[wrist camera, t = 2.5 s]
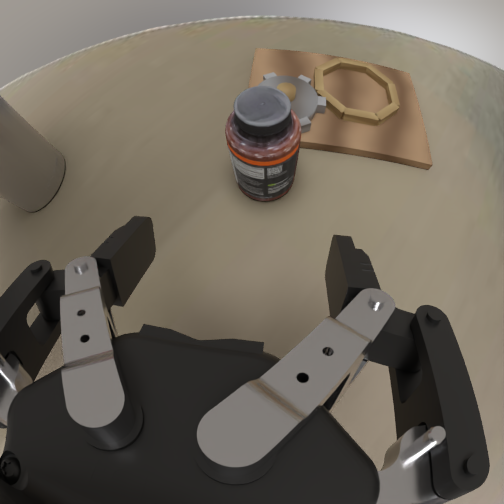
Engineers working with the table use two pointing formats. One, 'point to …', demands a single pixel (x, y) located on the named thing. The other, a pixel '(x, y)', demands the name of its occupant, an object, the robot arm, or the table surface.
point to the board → (348, 104)
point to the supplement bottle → (263, 142)
